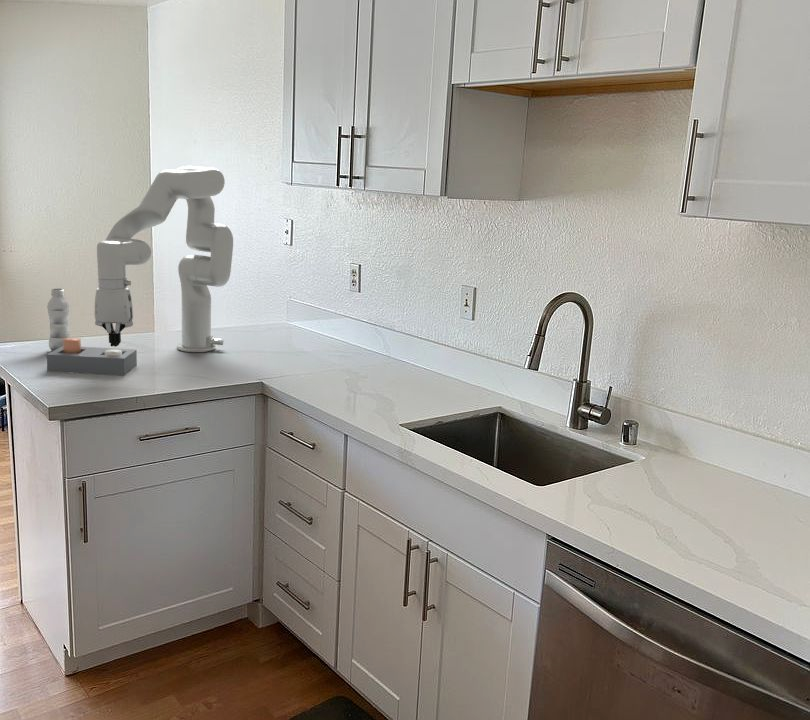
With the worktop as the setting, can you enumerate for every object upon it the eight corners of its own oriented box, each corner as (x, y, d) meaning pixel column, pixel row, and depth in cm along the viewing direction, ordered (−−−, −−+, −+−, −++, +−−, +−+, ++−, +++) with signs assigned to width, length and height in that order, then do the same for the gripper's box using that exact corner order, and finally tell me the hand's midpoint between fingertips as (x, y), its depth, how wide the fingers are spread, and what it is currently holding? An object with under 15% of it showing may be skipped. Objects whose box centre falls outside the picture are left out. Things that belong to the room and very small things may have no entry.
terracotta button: (83, 354, 236) (83, 338, 235) (77, 358, 231) (77, 341, 230) (67, 353, 236) (66, 337, 235) (60, 357, 231) (60, 340, 230)
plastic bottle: (75, 350, 255) (73, 288, 251) (64, 354, 249) (61, 291, 244) (56, 348, 256) (53, 287, 251) (44, 352, 249) (42, 290, 245)
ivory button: (124, 366, 237) (124, 349, 236) (119, 370, 233) (118, 353, 231) (108, 365, 237) (107, 349, 236) (102, 369, 232) (102, 352, 231)
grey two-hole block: (136, 365, 241) (136, 349, 240) (124, 375, 229) (124, 358, 228) (63, 361, 240) (62, 345, 239) (47, 371, 228) (46, 354, 227)
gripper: (142, 283, 233) (144, 343, 238) (90, 280, 233) (93, 341, 237) (134, 287, 226) (136, 349, 231) (81, 285, 225) (84, 347, 230)
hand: (115, 345), depth 234 cm, fingers closed
